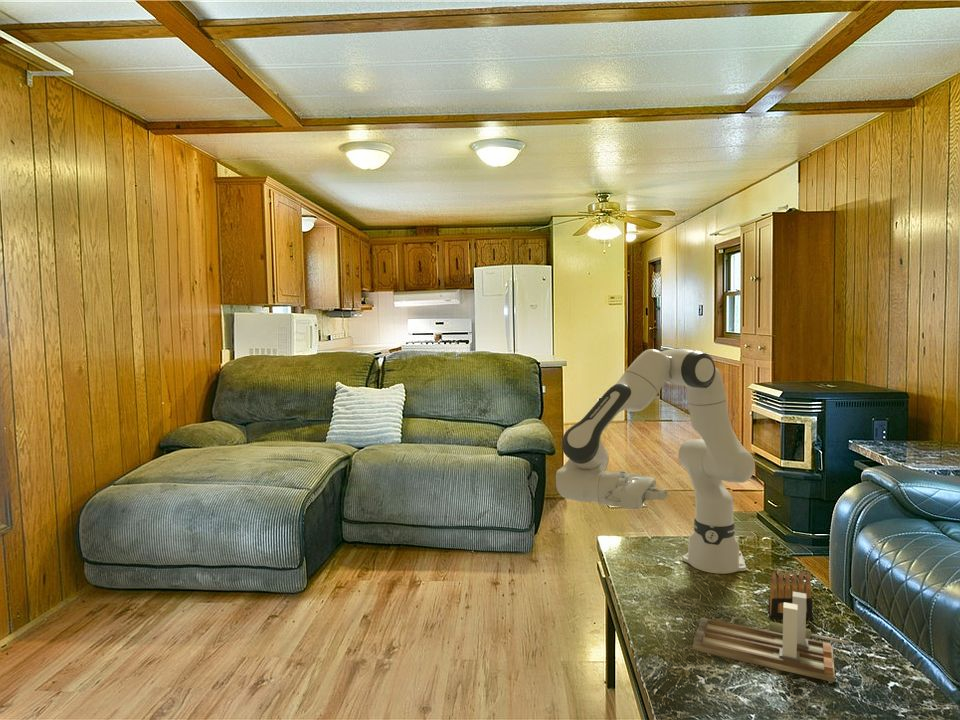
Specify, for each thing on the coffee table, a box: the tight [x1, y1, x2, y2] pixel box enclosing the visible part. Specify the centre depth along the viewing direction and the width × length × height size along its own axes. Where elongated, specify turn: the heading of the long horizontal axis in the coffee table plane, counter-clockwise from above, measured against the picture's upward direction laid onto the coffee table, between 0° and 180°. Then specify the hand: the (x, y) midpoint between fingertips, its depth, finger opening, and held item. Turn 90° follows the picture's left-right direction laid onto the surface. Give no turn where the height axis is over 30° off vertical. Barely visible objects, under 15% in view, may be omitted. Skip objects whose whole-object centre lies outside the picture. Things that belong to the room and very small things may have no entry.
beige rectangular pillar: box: [779, 602, 800, 662], centre depth 138 cm, size 4×4×12 cm
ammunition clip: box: [767, 570, 813, 619], centre depth 160 cm, size 11×2×12 cm, turn 89°
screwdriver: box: [768, 621, 850, 645], centre depth 149 cm, size 17×3×3 cm, turn 62°
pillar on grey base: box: [793, 591, 808, 649], centre depth 143 cm, size 4×4×12 cm
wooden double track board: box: [692, 617, 836, 683], centre depth 144 cm, size 13×29×2 cm, turn 62°
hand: (666, 495), depth 160 cm, fingers closed
